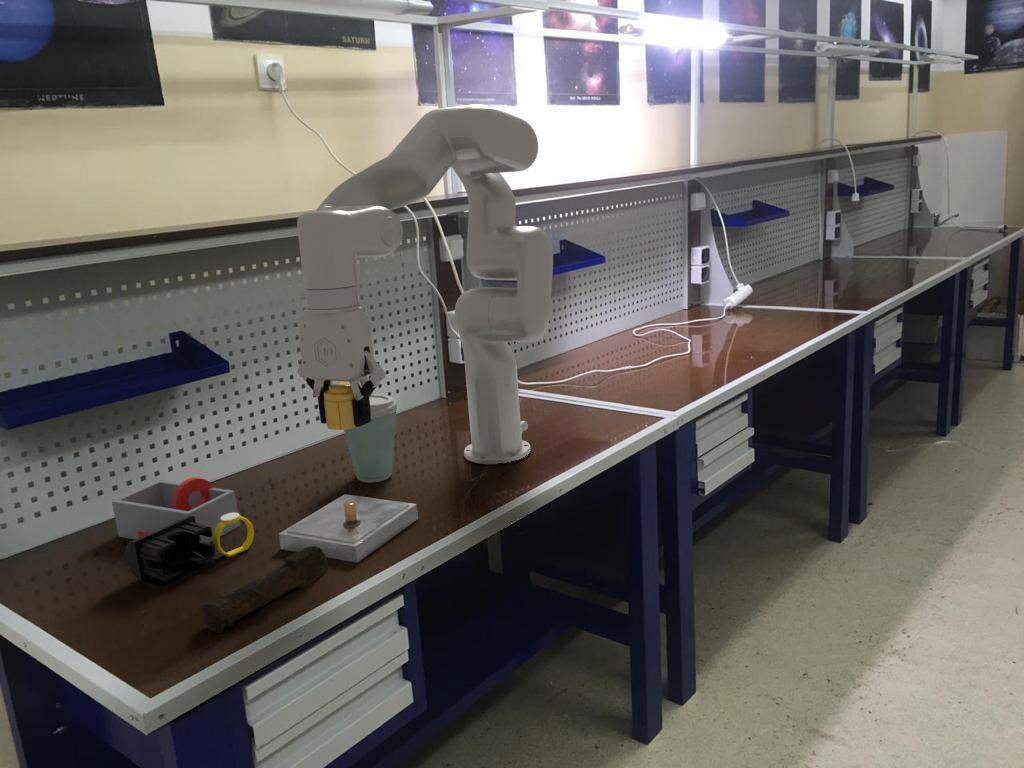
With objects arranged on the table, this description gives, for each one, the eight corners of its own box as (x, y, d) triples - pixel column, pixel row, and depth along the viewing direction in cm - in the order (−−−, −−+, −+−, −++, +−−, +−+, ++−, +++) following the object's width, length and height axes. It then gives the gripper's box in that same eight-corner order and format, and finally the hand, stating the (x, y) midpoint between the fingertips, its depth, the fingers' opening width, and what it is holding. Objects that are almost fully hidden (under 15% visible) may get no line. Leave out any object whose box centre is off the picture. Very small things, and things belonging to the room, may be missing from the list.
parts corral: (166, 513, 146) (160, 480, 145) (240, 525, 139) (234, 490, 137) (118, 536, 138) (111, 501, 137) (194, 550, 131) (188, 513, 129)
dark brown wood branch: (220, 638, 106) (215, 604, 104) (202, 629, 108) (196, 595, 107) (340, 576, 120) (336, 545, 119) (321, 569, 122) (317, 539, 121)
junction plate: (346, 508, 143) (342, 474, 141) (418, 518, 136) (414, 483, 135) (281, 549, 129) (275, 511, 128) (357, 562, 123) (352, 523, 121)
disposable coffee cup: (374, 463, 164) (365, 386, 160) (417, 471, 158) (409, 392, 154) (333, 482, 155) (323, 401, 152) (377, 491, 149) (367, 408, 146)
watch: (224, 563, 126) (215, 527, 125) (214, 558, 128) (205, 522, 126) (260, 546, 130) (251, 510, 129) (250, 541, 132) (241, 506, 131)
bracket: (206, 512, 144) (198, 468, 142) (220, 518, 141) (212, 473, 139) (136, 539, 136) (126, 491, 134) (149, 545, 133) (140, 497, 131)
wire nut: (342, 418, 130) (338, 380, 129) (372, 420, 128) (368, 381, 126) (319, 428, 125) (315, 388, 124) (349, 431, 123) (345, 390, 122)
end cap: (188, 553, 130) (181, 511, 128) (220, 562, 126) (212, 519, 125) (129, 582, 122) (120, 538, 120) (161, 593, 118) (152, 547, 117)
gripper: (268, 302, 123) (283, 425, 127) (366, 304, 115) (379, 434, 119) (302, 295, 129) (316, 412, 134) (398, 296, 122) (409, 420, 126)
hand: (345, 421), depth 127 cm, fingers closed on wire nut, 5 cm apart
